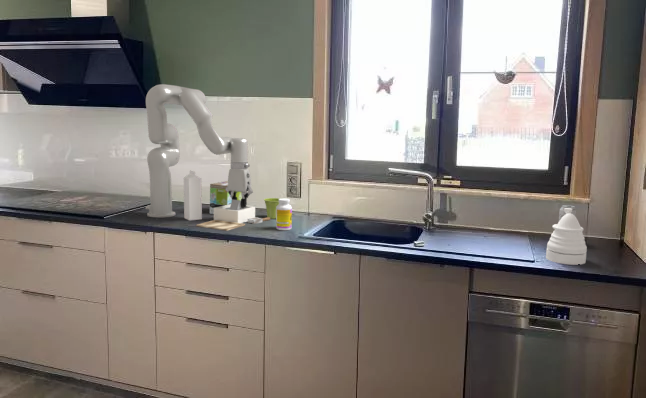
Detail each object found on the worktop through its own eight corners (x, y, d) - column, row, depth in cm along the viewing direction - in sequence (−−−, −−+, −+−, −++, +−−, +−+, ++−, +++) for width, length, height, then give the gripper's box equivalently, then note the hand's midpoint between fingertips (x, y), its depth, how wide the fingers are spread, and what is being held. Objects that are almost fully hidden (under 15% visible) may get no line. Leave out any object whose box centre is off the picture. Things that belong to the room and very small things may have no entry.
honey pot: (541, 254, 199) (545, 205, 197) (577, 255, 198) (582, 207, 195) (552, 263, 187) (557, 212, 184) (591, 265, 186) (596, 213, 183)
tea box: (227, 216, 257) (227, 185, 254) (209, 214, 260) (208, 183, 258) (243, 211, 270) (243, 181, 268) (225, 209, 274) (225, 180, 272)
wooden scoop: (253, 224, 238) (253, 220, 238) (247, 223, 241) (247, 218, 241) (272, 221, 247) (272, 217, 246) (266, 219, 249) (266, 215, 249)
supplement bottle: (292, 230, 228) (292, 200, 226) (276, 231, 227) (276, 200, 225) (290, 227, 235) (291, 198, 233) (275, 227, 234) (275, 198, 232)
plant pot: (267, 215, 261) (267, 197, 259) (286, 216, 259) (286, 198, 257) (261, 218, 252) (261, 200, 250) (280, 220, 250) (281, 201, 248)
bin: (213, 221, 244) (213, 208, 243) (231, 216, 255) (231, 204, 254) (237, 224, 238) (237, 211, 237) (255, 219, 249) (255, 206, 248)
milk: (189, 221, 243) (188, 172, 239) (184, 218, 247) (183, 170, 244) (202, 219, 246) (201, 171, 243) (196, 217, 251) (195, 170, 247)
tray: (196, 227, 231) (196, 224, 231) (215, 221, 242) (215, 219, 242) (226, 231, 224) (226, 229, 223) (245, 226, 235) (245, 223, 235)
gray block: (235, 212, 245) (237, 201, 246) (242, 213, 244) (244, 202, 244) (229, 210, 242) (232, 199, 242) (236, 211, 240) (239, 200, 241)
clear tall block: (553, 241, 220) (556, 204, 218) (566, 241, 222) (569, 204, 219) (563, 245, 214) (566, 207, 212) (576, 244, 216) (580, 207, 213)
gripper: (259, 166, 241) (259, 207, 244) (228, 164, 248) (228, 203, 251) (249, 168, 234) (249, 209, 237) (218, 165, 242) (218, 206, 245)
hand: (239, 206), depth 244 cm, fingers open, 4 cm apart
